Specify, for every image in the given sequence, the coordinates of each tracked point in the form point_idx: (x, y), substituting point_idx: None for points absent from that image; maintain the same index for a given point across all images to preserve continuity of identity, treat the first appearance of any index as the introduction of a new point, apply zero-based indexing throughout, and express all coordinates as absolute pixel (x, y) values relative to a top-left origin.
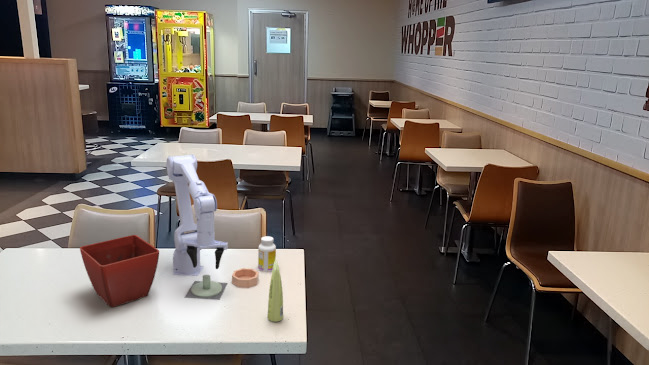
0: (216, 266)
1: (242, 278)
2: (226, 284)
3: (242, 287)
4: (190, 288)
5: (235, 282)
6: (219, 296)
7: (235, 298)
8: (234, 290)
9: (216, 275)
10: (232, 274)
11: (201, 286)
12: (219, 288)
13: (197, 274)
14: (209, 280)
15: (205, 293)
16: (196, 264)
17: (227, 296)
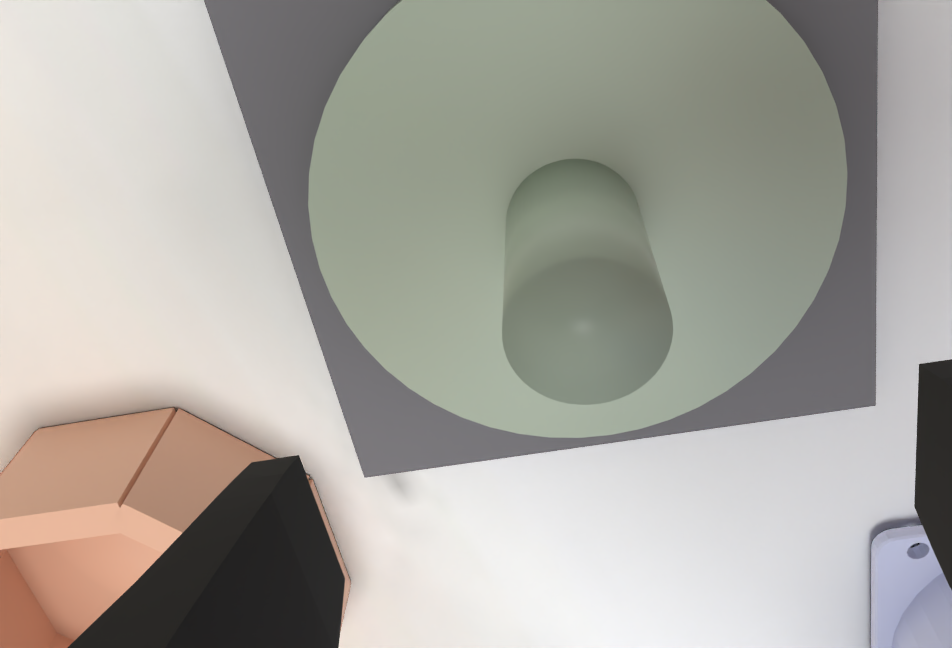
0: (235, 500)
1: None
2: (360, 438)
3: (102, 427)
4: (865, 169)
5: (207, 477)
6: (257, 71)
7: (20, 131)
8: (184, 344)
9: (627, 615)
10: None
11: (681, 239)
12: (356, 268)
13: (892, 563)
14: (505, 279)
15: (499, 24)
16: (936, 493)
17: (172, 150)
